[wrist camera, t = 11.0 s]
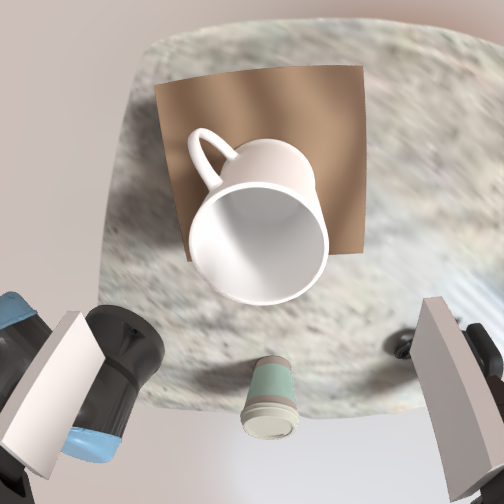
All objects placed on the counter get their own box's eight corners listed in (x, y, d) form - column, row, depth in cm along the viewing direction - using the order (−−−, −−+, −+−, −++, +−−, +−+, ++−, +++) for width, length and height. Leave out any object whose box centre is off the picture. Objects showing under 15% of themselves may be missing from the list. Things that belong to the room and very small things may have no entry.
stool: (202, 231, 40) (187, 261, 34) (177, 84, 31) (154, 85, 25) (350, 223, 37) (363, 252, 31) (346, 68, 29) (362, 66, 23)
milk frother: (469, 357, 48) (496, 419, 35) (394, 381, 51) (409, 450, 39) (478, 301, 41) (518, 368, 29) (391, 329, 45) (414, 409, 32)
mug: (181, 141, 27) (122, 182, 17) (263, 88, 24) (249, 92, 14) (252, 242, 32) (237, 326, 21) (331, 201, 29) (356, 274, 19)
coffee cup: (236, 367, 52) (227, 428, 41) (270, 341, 48) (265, 407, 38) (275, 388, 54) (272, 446, 43) (309, 365, 50) (312, 427, 40)
